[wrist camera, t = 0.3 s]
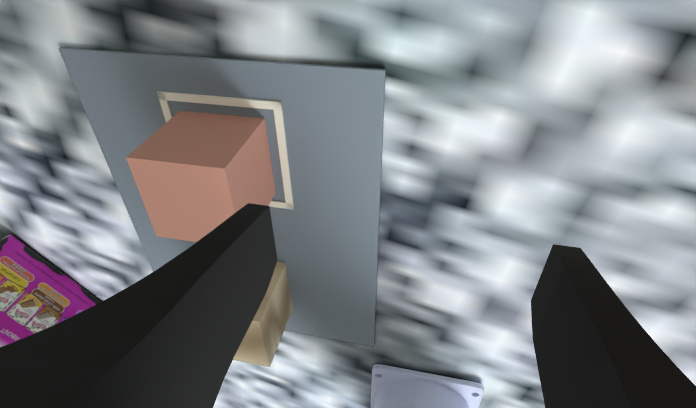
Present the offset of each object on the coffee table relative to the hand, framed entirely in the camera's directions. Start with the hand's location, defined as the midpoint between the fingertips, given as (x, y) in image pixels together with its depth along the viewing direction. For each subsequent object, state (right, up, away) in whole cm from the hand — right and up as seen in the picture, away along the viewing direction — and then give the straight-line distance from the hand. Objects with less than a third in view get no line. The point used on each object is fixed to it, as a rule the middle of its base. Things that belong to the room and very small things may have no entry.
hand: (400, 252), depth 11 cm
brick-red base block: (-8, +4, +11) cm, 14 cm away
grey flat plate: (-7, 0, +15) cm, 16 cm away
